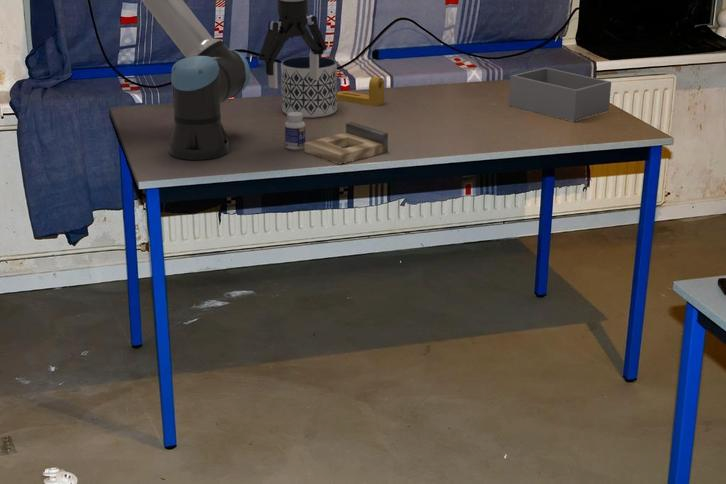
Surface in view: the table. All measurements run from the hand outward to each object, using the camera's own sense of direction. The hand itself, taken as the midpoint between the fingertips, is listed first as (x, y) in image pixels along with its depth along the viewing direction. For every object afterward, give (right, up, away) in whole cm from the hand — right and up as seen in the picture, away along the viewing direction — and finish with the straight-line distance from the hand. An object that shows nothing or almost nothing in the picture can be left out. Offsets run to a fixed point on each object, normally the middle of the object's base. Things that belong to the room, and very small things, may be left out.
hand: (294, 83), depth 279 cm
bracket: (+16, +1, +49) cm, 52 cm away
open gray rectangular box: (+75, -2, +41) cm, 85 cm away
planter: (+2, -3, +38) cm, 39 cm away
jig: (+13, -17, +2) cm, 22 cm away
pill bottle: (0, -16, +6) cm, 17 cm away
